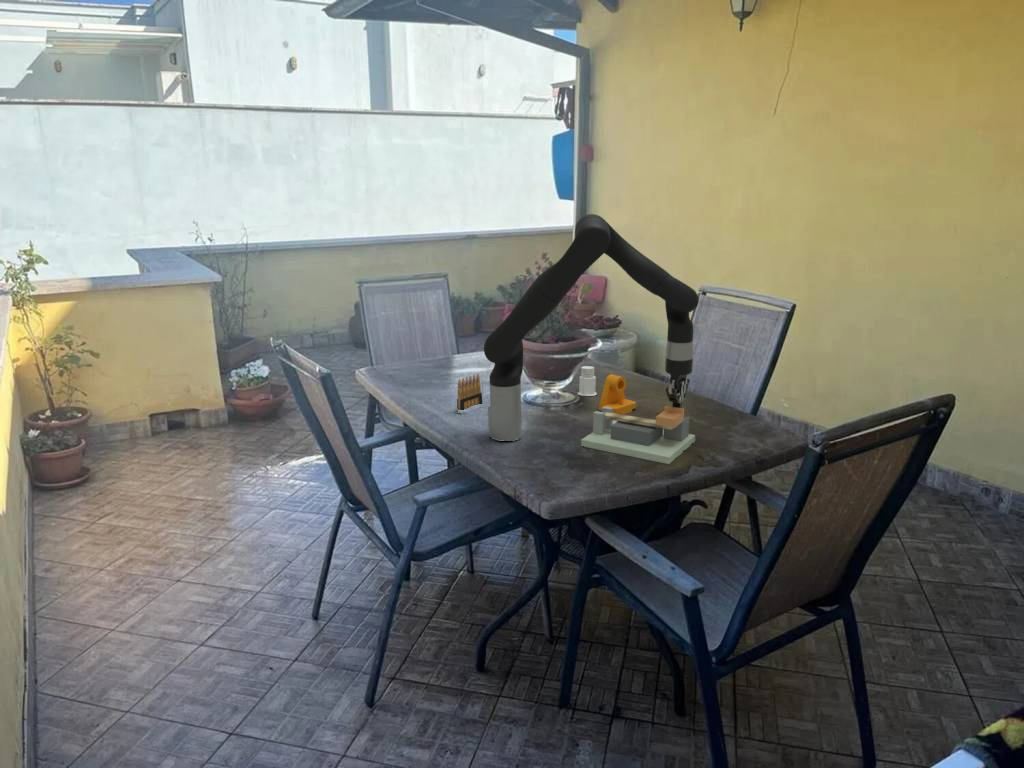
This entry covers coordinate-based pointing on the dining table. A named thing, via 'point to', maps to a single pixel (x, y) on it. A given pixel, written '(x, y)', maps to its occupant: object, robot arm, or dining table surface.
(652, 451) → the board
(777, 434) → the dining table surface
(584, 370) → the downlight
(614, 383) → the bracket
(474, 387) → the ammunition clip
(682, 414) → the block
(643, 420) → the strap
